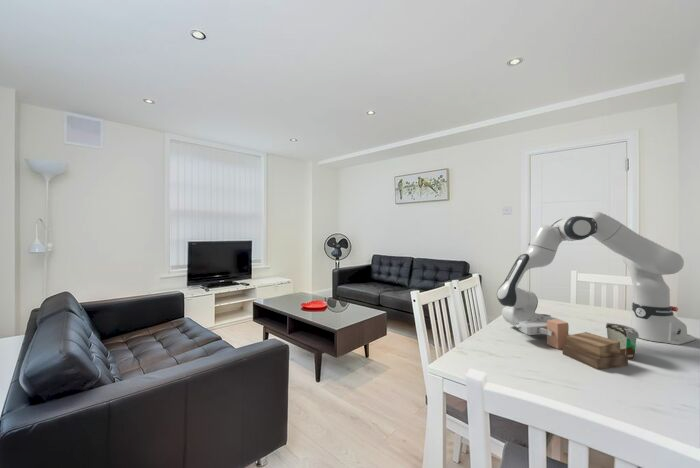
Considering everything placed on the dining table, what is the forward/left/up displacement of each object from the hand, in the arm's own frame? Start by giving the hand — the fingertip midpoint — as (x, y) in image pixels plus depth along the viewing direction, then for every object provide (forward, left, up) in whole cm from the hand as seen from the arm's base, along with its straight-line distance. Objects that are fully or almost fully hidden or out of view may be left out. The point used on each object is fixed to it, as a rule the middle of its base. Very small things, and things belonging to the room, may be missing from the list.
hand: (559, 333), depth 118 cm
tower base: (-2, +12, -6) cm, 14 cm away
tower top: (-2, +12, -2) cm, 12 cm away
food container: (-18, +11, -6) cm, 22 cm away
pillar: (0, -1, -5) cm, 6 cm away
